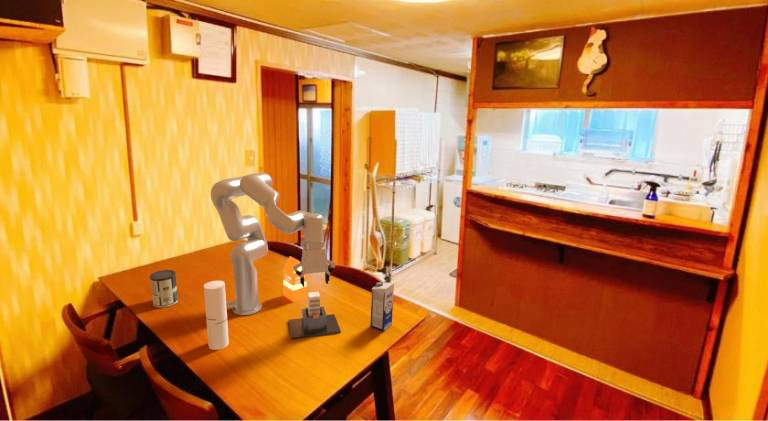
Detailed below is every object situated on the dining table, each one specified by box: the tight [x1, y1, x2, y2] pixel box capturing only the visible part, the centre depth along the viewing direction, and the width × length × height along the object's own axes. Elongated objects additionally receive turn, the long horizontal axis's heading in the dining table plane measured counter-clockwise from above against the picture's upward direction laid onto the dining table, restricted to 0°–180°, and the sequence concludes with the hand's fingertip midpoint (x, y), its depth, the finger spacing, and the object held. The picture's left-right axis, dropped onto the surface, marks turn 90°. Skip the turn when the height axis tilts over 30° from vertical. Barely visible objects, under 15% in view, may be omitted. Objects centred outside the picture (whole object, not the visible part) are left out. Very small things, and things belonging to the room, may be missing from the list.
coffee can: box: [149, 269, 179, 309], centre depth 173 cm, size 10×10×14 cm
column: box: [307, 291, 321, 317], centre depth 158 cm, size 4×5×14 cm
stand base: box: [288, 306, 342, 341], centre depth 159 cm, size 20×14×9 cm
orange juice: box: [282, 255, 308, 303], centre depth 184 cm, size 8×9×20 cm
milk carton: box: [369, 281, 395, 333], centre depth 161 cm, size 7×7×20 cm
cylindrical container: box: [203, 280, 230, 351], centre depth 143 cm, size 7×7×25 cm
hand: (315, 284), depth 155 cm, fingers open, 9 cm apart
